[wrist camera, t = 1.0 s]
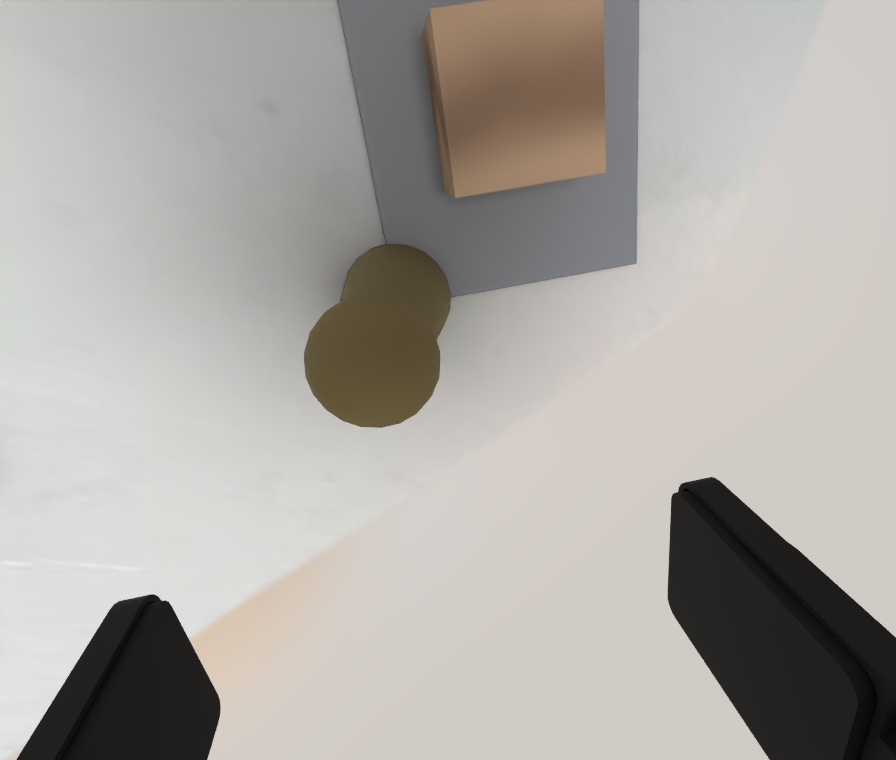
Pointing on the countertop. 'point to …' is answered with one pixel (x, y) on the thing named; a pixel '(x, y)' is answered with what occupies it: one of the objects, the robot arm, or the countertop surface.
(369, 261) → the olive green rounded piece
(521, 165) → the walnut block
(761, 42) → the countertop surface
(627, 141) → the mat
